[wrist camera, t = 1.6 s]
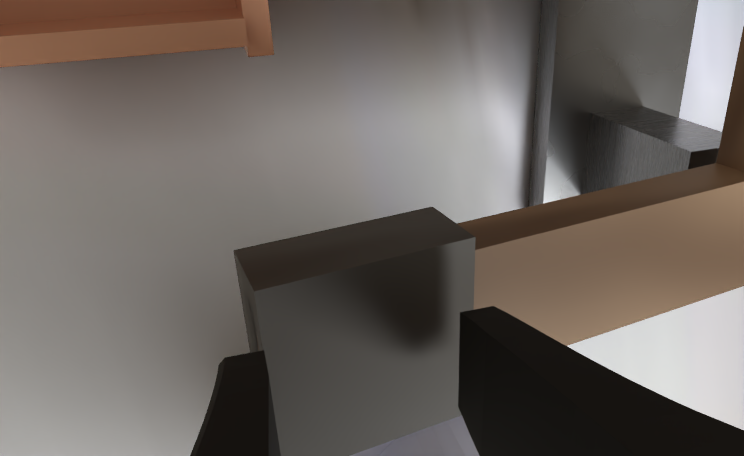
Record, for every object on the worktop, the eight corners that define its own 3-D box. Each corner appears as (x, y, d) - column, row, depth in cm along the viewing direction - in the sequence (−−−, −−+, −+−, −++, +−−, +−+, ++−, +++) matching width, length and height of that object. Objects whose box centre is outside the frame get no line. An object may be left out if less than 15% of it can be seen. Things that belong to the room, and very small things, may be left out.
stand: (645, 199, 23) (777, 269, 18) (527, 217, 22) (630, 299, 17) (721, -295, 17) (960, -412, 12) (561, -301, 16) (743, -434, 10)
